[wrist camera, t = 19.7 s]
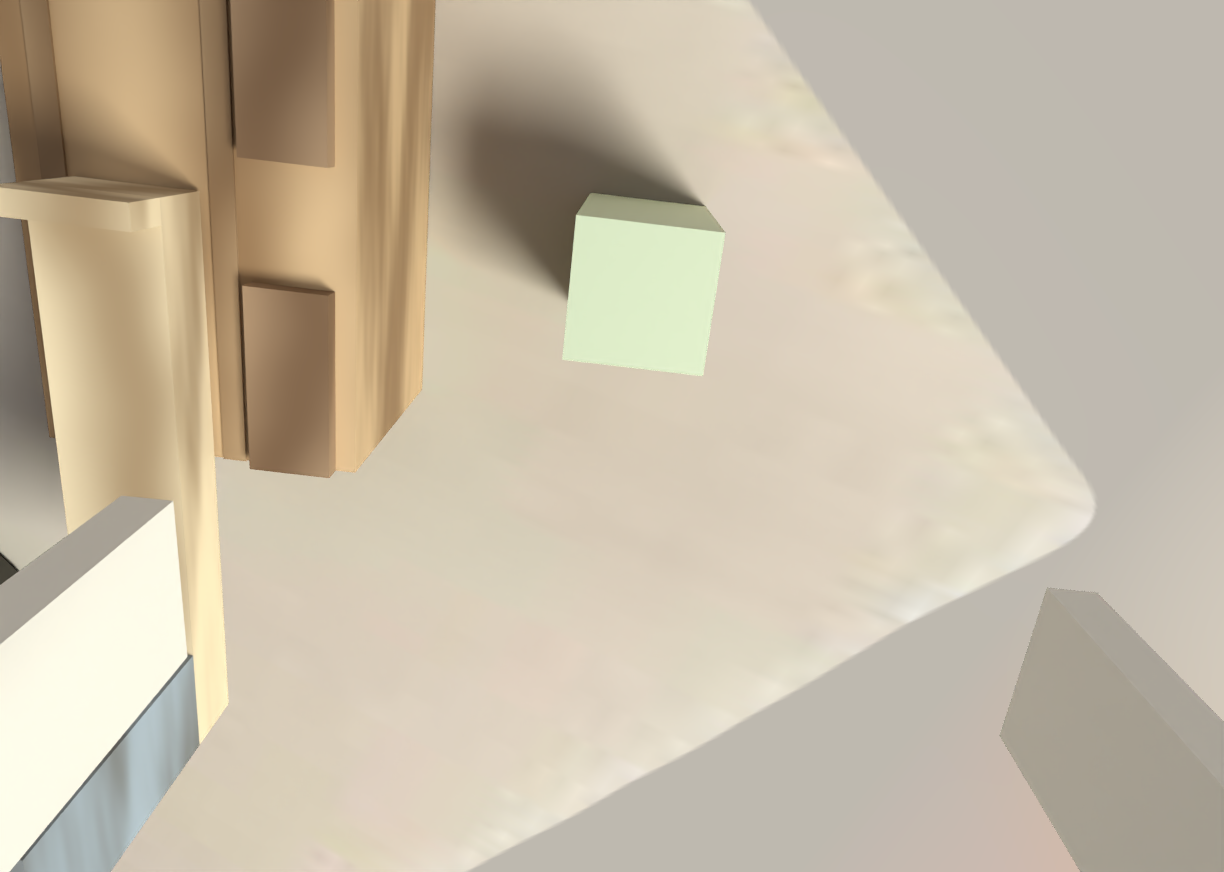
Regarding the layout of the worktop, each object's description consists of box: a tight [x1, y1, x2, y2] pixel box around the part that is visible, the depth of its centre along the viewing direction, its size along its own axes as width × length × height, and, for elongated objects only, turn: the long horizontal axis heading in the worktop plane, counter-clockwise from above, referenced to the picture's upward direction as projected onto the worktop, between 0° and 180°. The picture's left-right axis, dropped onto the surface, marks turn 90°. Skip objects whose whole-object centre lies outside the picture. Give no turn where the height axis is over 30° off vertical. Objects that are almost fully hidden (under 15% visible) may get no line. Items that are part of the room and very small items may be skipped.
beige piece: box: [0, 176, 229, 872], centre depth 25 cm, size 4×20×11 cm, turn 173°
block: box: [562, 193, 725, 376], centre depth 33 cm, size 5×5×9 cm
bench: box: [0, 0, 435, 478], centre depth 31 cm, size 11×20×11 cm, turn 174°
